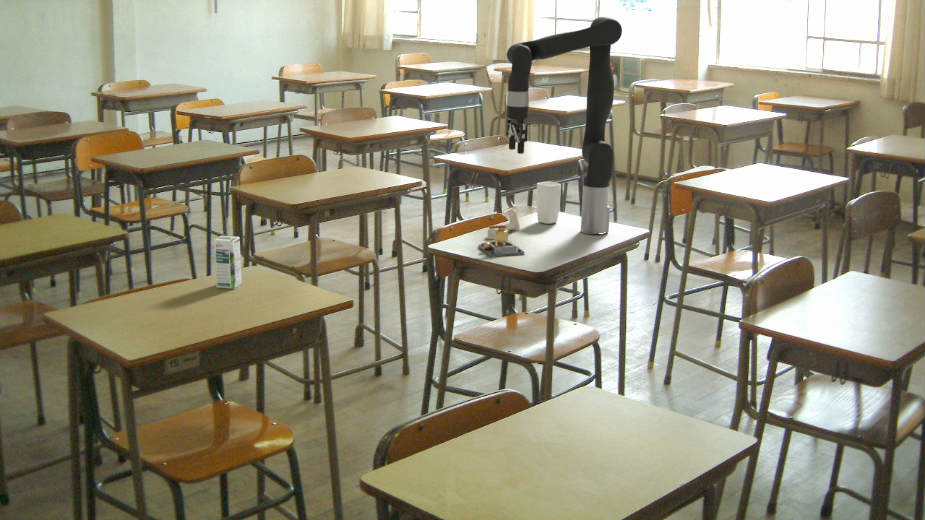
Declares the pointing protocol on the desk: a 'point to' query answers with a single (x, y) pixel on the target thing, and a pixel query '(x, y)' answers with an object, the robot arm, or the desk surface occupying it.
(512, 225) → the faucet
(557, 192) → the cup
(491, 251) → the grey compartment tray
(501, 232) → the valve
